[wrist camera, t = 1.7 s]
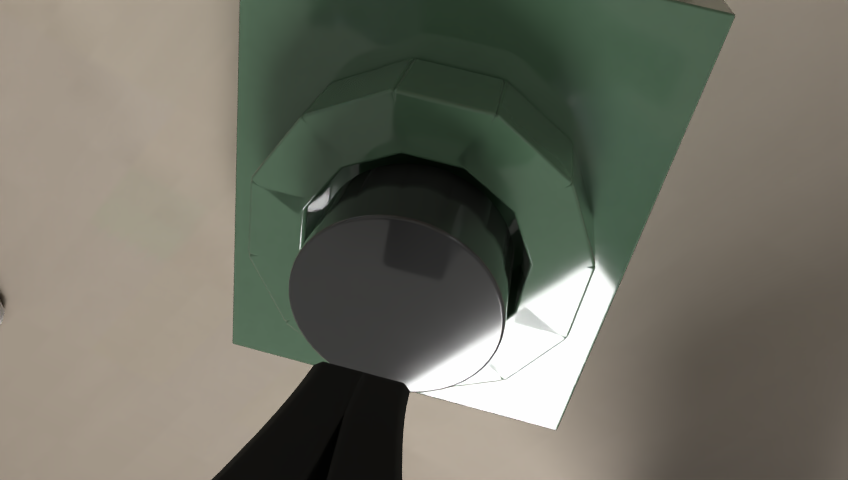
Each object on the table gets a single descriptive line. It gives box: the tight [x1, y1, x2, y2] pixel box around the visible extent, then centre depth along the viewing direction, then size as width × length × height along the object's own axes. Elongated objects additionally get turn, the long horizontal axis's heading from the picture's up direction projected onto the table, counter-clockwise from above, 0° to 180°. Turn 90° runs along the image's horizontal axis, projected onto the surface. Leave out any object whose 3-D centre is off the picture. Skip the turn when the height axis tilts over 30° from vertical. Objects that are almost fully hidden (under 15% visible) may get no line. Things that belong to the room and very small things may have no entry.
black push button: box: [289, 163, 514, 392], centre depth 13 cm, size 4×4×2 cm
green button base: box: [233, 0, 735, 430], centre depth 16 cm, size 11×9×5 cm
